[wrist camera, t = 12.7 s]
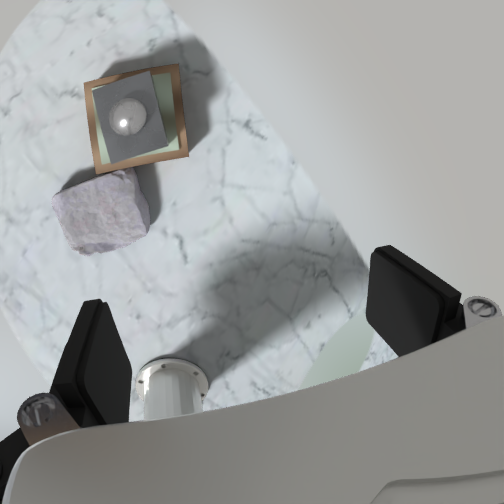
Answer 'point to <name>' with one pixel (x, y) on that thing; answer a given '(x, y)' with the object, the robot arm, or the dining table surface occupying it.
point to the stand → (171, 112)
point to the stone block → (103, 212)
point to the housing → (130, 117)
